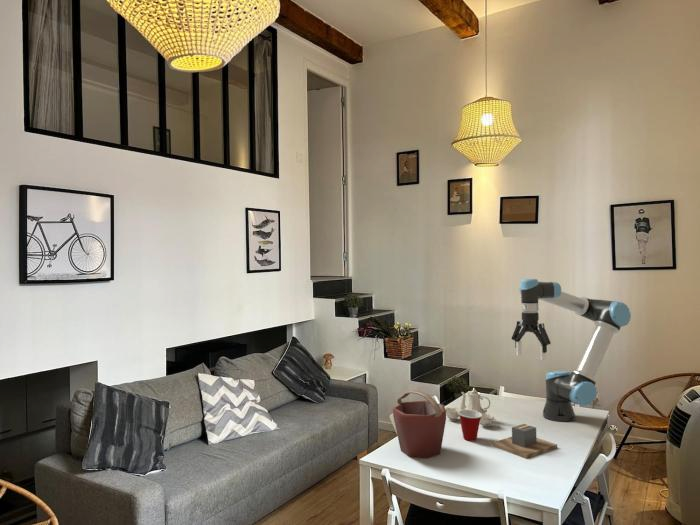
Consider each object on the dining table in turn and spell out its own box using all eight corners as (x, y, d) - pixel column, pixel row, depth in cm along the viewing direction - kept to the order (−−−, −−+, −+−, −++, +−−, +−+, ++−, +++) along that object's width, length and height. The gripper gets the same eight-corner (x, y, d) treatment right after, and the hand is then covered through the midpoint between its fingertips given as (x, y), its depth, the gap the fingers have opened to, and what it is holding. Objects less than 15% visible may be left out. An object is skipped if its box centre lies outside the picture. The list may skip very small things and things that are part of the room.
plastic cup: (481, 444, 236) (480, 417, 236) (456, 441, 240) (455, 414, 239) (484, 436, 246) (483, 410, 246) (460, 433, 250) (460, 408, 250)
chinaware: (439, 424, 269) (437, 392, 267) (452, 412, 283) (450, 382, 281) (494, 434, 253) (492, 400, 252) (505, 420, 267) (503, 388, 265)
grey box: (524, 447, 226) (523, 430, 226) (512, 443, 231) (511, 426, 231) (536, 443, 230) (536, 426, 230) (524, 439, 236) (524, 423, 236)
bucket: (386, 445, 237) (385, 389, 237) (430, 438, 245) (429, 383, 245) (412, 465, 214) (410, 403, 214) (459, 456, 222) (458, 396, 222)
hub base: (522, 436, 244) (522, 423, 244) (557, 448, 229) (556, 434, 229) (492, 445, 233) (492, 432, 233) (526, 458, 218) (525, 444, 218)
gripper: (503, 310, 258) (504, 354, 258) (547, 314, 237) (548, 362, 237) (514, 309, 262) (514, 352, 262) (558, 313, 241) (559, 360, 242)
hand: (530, 357), depth 250 cm, fingers open, 13 cm apart
